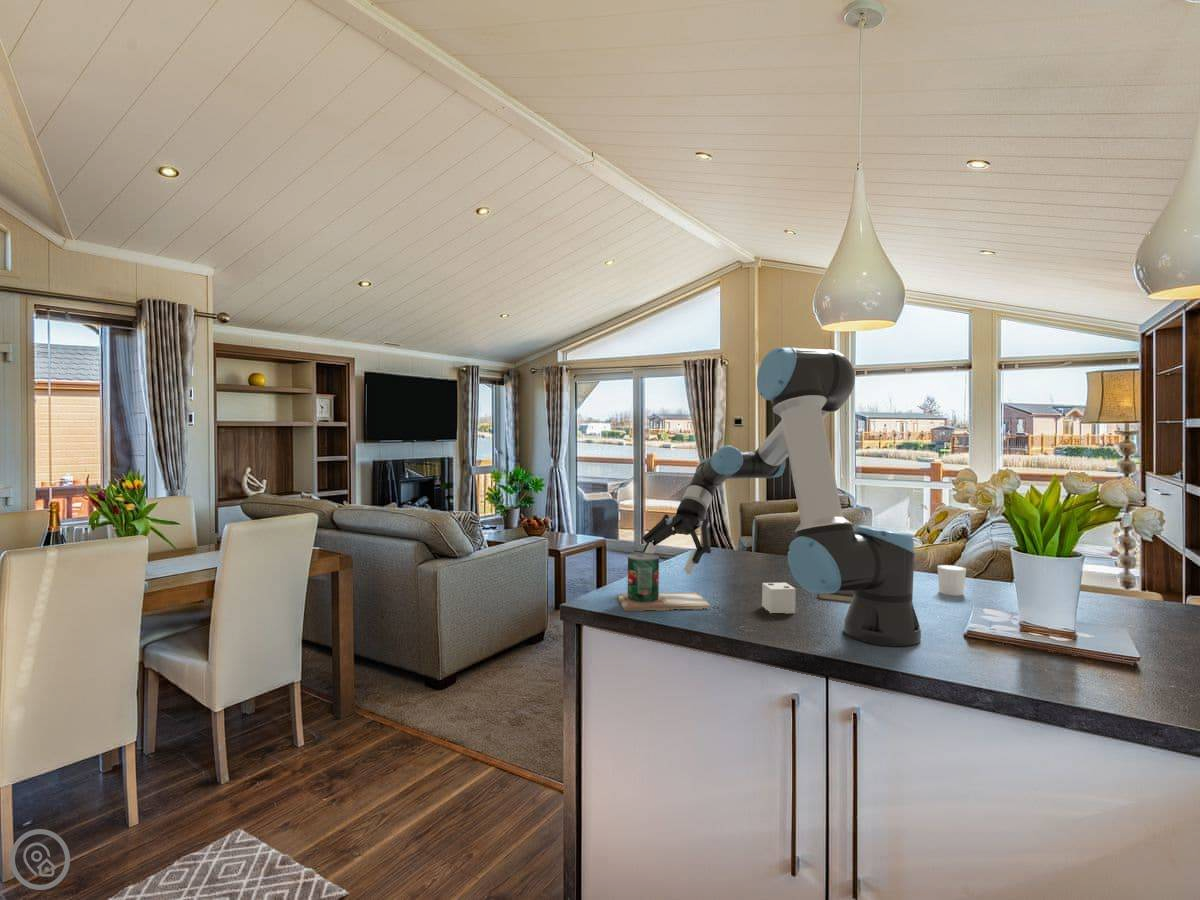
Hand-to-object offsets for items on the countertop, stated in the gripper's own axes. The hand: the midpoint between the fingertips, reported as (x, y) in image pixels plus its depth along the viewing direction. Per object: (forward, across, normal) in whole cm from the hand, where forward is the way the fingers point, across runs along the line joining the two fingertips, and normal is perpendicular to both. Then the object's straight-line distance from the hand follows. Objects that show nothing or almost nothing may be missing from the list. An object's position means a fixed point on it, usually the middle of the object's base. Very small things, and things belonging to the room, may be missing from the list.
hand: (664, 568), depth 168 cm
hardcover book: (-20, -37, -32) cm, 53 cm away
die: (0, -28, -10) cm, 30 cm away
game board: (+9, -4, -1) cm, 10 cm away
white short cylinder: (-32, -58, -42) cm, 79 cm away
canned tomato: (+11, 0, +2) cm, 11 cm away
